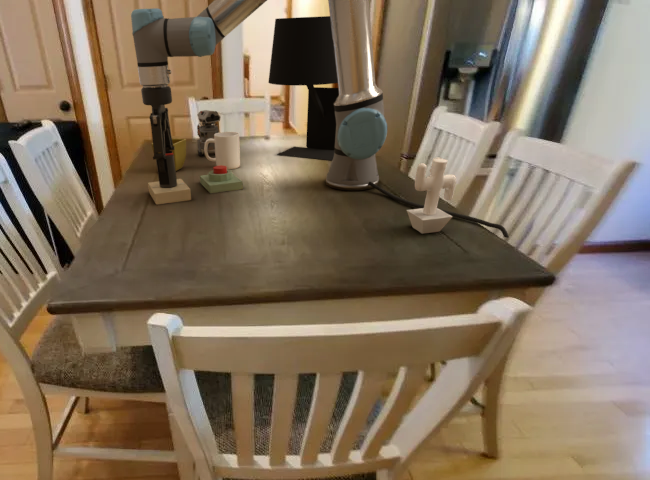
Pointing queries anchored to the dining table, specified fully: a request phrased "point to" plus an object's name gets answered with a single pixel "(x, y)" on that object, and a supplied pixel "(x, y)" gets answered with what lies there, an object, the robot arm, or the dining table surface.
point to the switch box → (221, 182)
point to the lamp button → (220, 169)
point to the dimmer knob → (170, 171)
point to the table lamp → (308, 78)
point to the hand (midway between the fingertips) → (167, 179)
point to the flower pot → (178, 152)
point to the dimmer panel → (169, 192)
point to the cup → (225, 149)
